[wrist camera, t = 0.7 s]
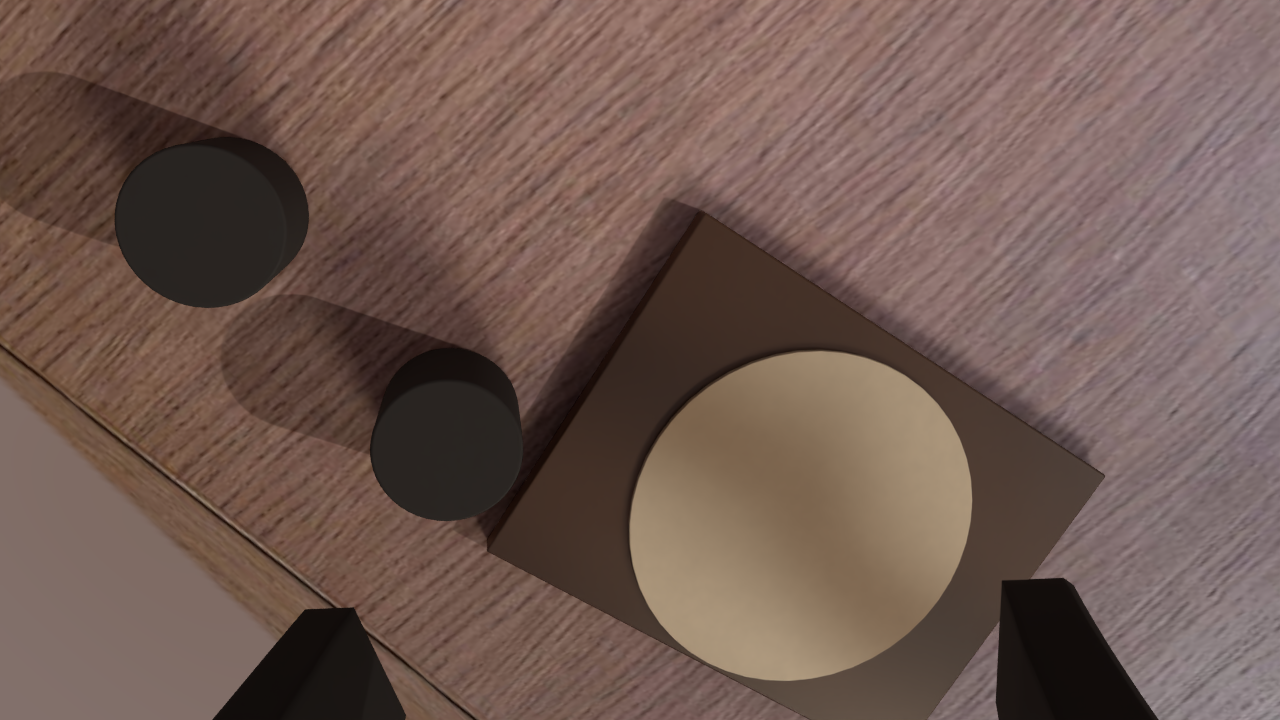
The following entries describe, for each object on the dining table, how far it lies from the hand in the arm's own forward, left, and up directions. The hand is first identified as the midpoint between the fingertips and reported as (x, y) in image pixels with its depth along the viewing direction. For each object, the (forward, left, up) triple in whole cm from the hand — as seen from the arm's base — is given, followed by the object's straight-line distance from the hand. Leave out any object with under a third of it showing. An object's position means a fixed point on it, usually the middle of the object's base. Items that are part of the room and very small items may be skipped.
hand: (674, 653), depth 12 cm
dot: (-4, +1, -20) cm, 20 cm away
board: (-1, -10, -20) cm, 22 cm away
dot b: (-2, +9, -20) cm, 22 cm away
